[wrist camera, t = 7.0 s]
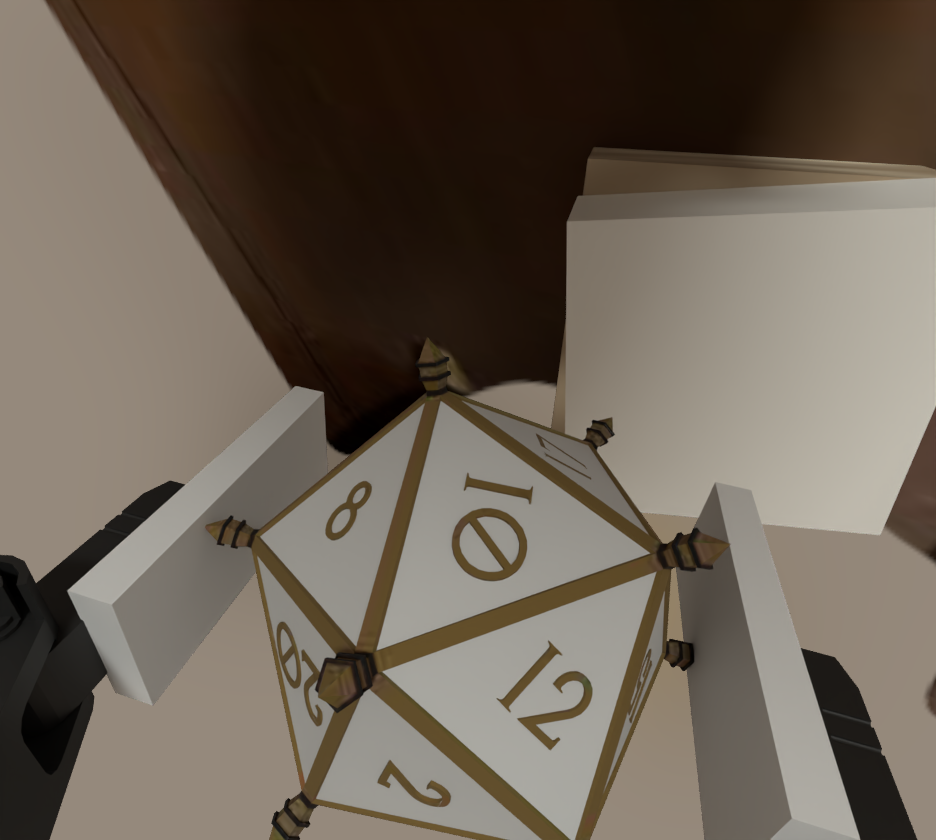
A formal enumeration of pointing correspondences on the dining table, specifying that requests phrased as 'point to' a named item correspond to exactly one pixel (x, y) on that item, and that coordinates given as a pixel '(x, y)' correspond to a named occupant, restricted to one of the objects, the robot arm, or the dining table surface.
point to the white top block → (756, 344)
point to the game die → (465, 622)
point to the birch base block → (712, 187)
